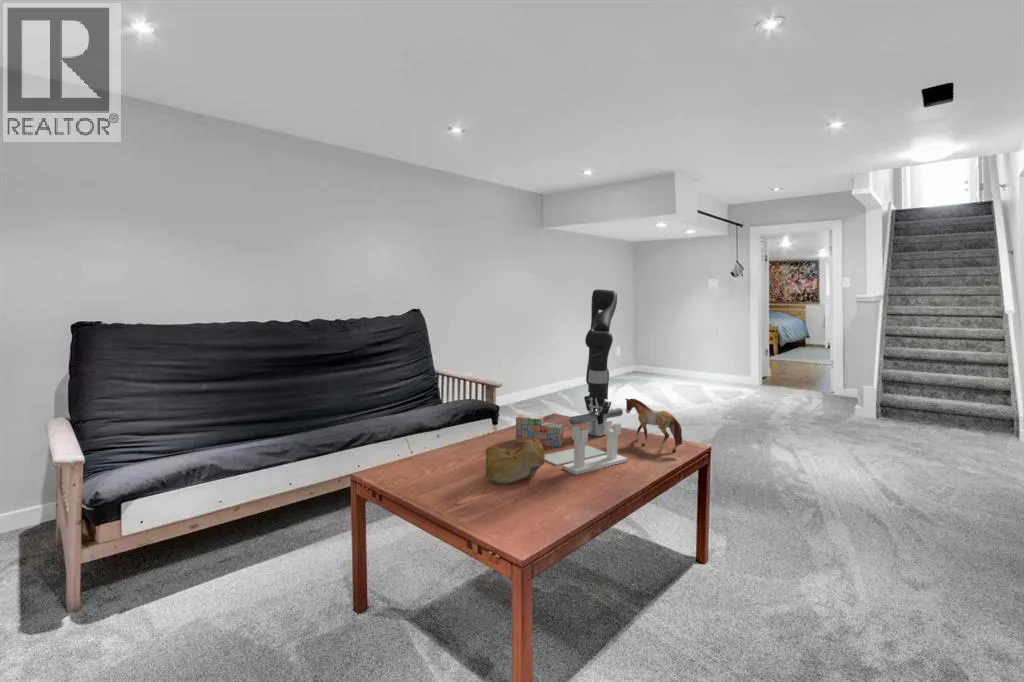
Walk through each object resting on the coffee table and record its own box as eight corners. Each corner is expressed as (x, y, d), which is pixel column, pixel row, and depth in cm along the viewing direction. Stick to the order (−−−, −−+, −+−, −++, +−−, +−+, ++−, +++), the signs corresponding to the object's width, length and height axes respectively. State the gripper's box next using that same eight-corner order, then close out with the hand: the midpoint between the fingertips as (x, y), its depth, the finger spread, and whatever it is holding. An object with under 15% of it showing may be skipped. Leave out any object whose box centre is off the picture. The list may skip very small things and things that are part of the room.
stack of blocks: (563, 443, 239) (563, 417, 238) (559, 447, 233) (560, 421, 232) (520, 438, 246) (520, 413, 245) (515, 442, 241) (515, 416, 239)
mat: (538, 457, 219) (538, 456, 219) (587, 446, 234) (587, 445, 234) (556, 465, 209) (556, 464, 209) (606, 453, 224) (606, 452, 224)
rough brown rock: (532, 468, 208) (530, 431, 208) (549, 479, 193) (547, 439, 192) (476, 477, 200) (474, 438, 200) (489, 489, 185) (487, 447, 184)
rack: (562, 468, 206) (563, 428, 204) (613, 456, 221) (614, 418, 219) (576, 474, 199) (577, 433, 197) (627, 461, 215) (628, 422, 213)
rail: (574, 426, 200) (575, 418, 199) (569, 423, 202) (570, 415, 202) (622, 416, 214) (623, 409, 214) (616, 414, 217) (617, 406, 216)
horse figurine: (622, 440, 245) (623, 397, 242) (632, 437, 249) (633, 395, 247) (680, 457, 221) (682, 410, 218) (690, 454, 225) (692, 407, 223)
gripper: (617, 382, 203) (616, 425, 205) (592, 377, 214) (591, 417, 216) (603, 384, 199) (602, 428, 200) (579, 379, 210) (578, 420, 212)
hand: (596, 422), depth 208 cm, fingers closed on rail, 3 cm apart
